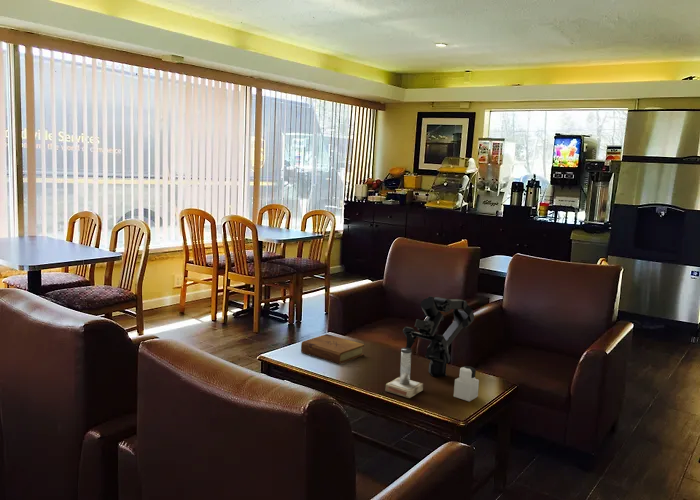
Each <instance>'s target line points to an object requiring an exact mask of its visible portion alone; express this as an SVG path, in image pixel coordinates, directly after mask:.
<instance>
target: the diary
mask: <svg viewBox="0 0 700 500" xmlns="http://www.w3.org/2000/svg"><path fill="white" fill-rule="evenodd" d="M363 347H365V344H364V343H360V342H358V341H354V340H351V339H350V340H349V339H346V338H343V337H339V336H336V335H332V334H328V333H326V334H323V335H319V336H316V337H312V338H310V339H309V338H308V339H306V340H303V341H302V342H301V344H300V352H301V353H304V354H306V355H310V356H313V357H315V358H320V359H322V360H325V361H329V362H331V363H335V364H338V365H340V364H344V363H346V362H349V361H351V360H354V359H356V358H360V357H361V356H364V355H365V354H364V353H363Z"/></svg>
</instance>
